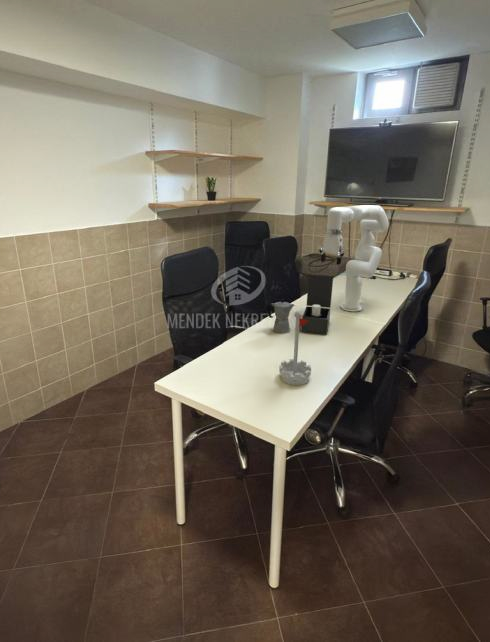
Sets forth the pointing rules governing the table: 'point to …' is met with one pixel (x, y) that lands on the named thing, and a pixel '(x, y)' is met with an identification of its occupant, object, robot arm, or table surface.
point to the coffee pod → (316, 310)
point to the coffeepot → (281, 315)
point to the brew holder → (315, 316)
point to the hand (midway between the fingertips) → (330, 263)
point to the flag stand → (295, 360)
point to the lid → (319, 290)
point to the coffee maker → (316, 321)
